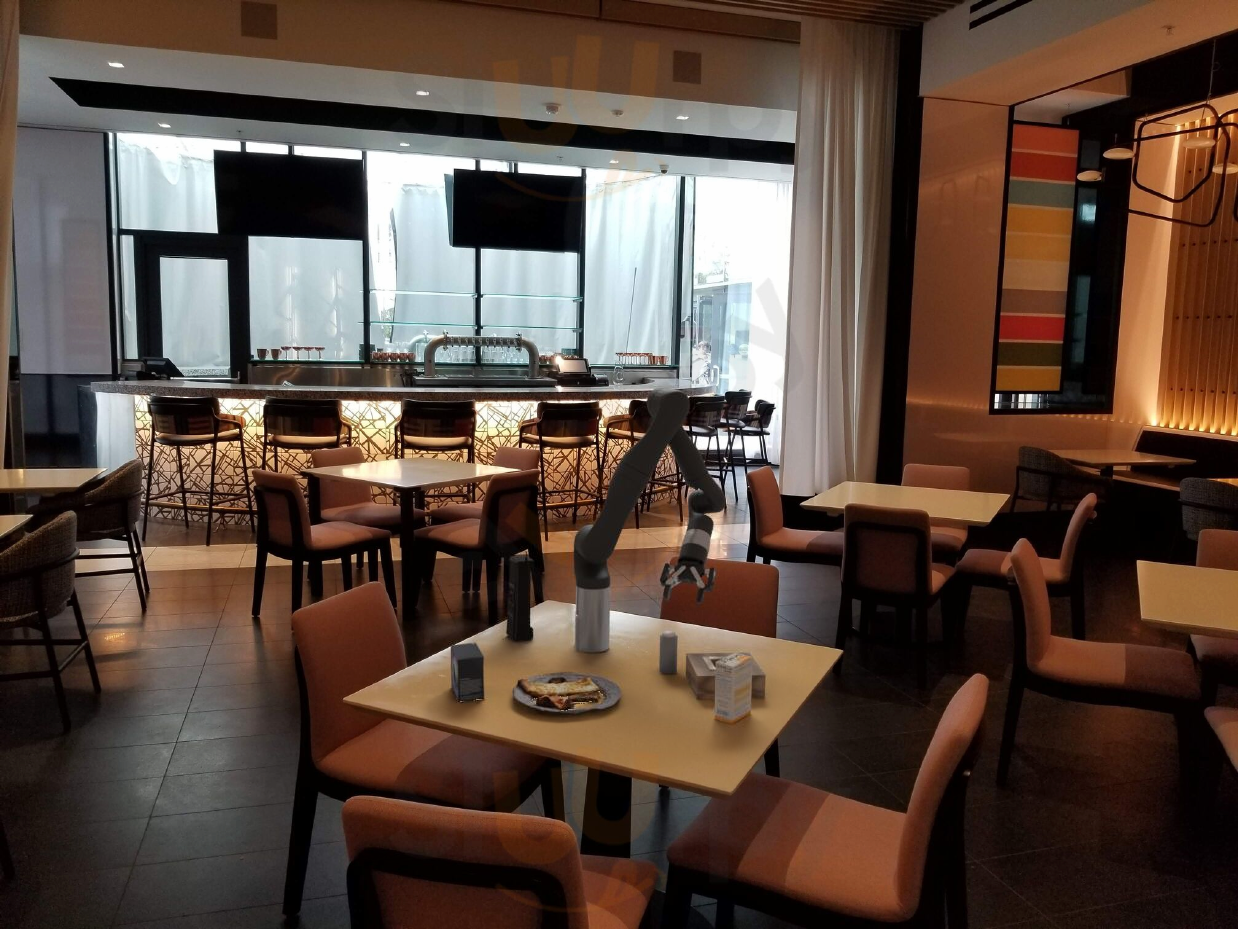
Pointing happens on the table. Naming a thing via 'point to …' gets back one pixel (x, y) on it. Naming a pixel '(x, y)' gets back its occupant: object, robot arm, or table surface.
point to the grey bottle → (668, 652)
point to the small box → (467, 672)
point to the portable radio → (519, 598)
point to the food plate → (565, 691)
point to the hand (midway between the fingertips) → (682, 601)
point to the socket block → (703, 674)
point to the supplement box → (733, 687)
